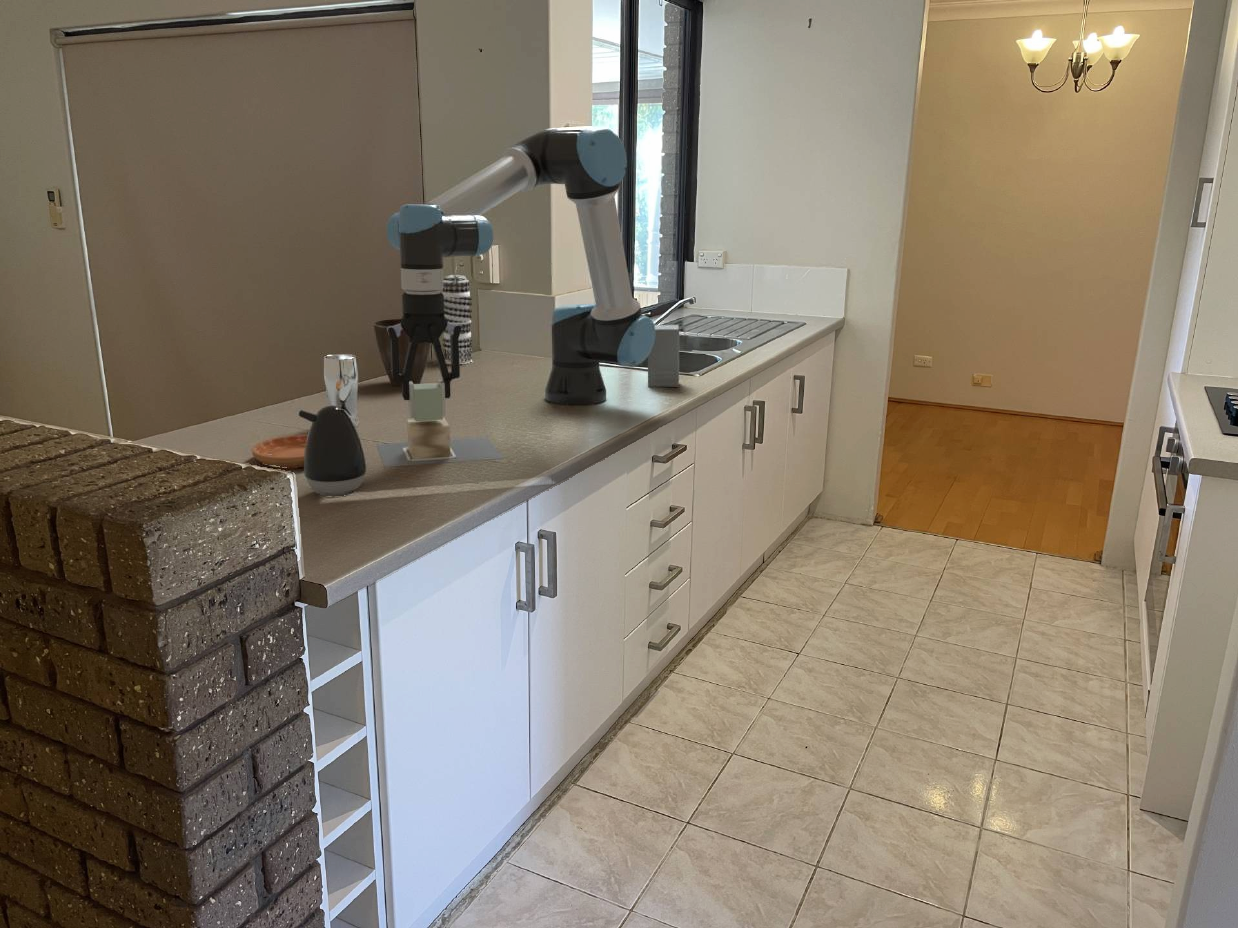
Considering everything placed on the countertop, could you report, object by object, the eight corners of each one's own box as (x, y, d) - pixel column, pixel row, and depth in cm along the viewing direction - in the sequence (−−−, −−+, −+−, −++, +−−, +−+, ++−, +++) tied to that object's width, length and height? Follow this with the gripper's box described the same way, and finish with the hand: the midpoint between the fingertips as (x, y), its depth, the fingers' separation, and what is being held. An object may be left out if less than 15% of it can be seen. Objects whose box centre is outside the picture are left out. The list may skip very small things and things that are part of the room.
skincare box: (678, 383, 256) (681, 324, 251) (677, 388, 249) (680, 328, 244) (647, 382, 256) (649, 323, 252) (645, 387, 250) (647, 327, 245)
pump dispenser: (311, 483, 167) (305, 399, 162) (372, 483, 167) (367, 399, 163) (297, 502, 157) (290, 413, 152) (362, 501, 158) (356, 412, 153)
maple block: (444, 447, 186) (443, 417, 184) (450, 456, 180) (449, 426, 178) (408, 449, 184) (407, 419, 182) (412, 459, 178) (411, 428, 176)
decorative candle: (455, 366, 273) (453, 278, 265) (435, 361, 278) (432, 275, 271) (480, 362, 279) (478, 276, 272) (460, 358, 285) (457, 273, 278)
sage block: (438, 413, 183) (437, 383, 181) (442, 419, 178) (441, 388, 177) (412, 415, 181) (411, 384, 180) (415, 421, 177) (414, 389, 175)
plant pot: (444, 386, 246) (442, 324, 242) (389, 392, 238) (386, 328, 234) (421, 376, 258) (419, 317, 253) (368, 381, 250) (364, 320, 245)
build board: (487, 442, 194) (487, 436, 194) (503, 464, 180) (503, 457, 180) (377, 450, 188) (376, 443, 187) (385, 473, 173) (384, 466, 173)
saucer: (255, 475, 171) (254, 459, 170) (250, 452, 185) (249, 438, 184) (346, 467, 177) (345, 451, 176) (335, 445, 191) (334, 431, 190)
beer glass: (367, 423, 208) (363, 355, 204) (348, 430, 202) (344, 360, 197) (340, 419, 210) (335, 352, 206) (321, 427, 204) (316, 358, 200)
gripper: (373, 294, 167) (380, 423, 173) (475, 293, 173) (478, 417, 179) (370, 290, 174) (376, 414, 180) (468, 289, 179) (471, 409, 186)
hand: (427, 415), depth 180 cm, fingers closed on sage block, 5 cm apart
